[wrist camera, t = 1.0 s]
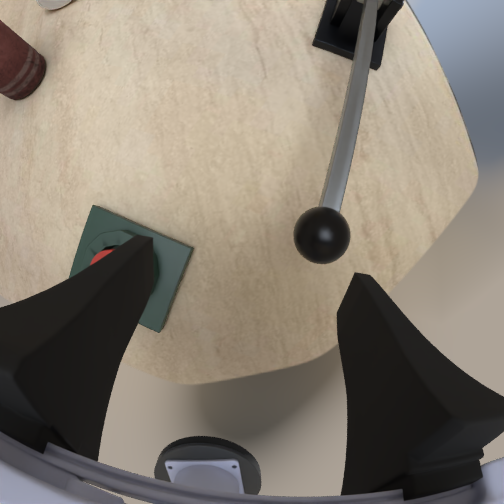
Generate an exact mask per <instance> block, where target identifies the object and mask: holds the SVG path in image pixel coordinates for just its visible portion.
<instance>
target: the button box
mask: <svg viewBox="0 0 504 504" xmlns="http://www.w3.org/2000/svg"><path fill="white" fill-rule="evenodd" d="M136 235H142V236H148V237H153V266H154V284H153V287H152V290H151V293H150V296H149V299H148V302H147V305H146V307H145V310H144V312H143V314H142V316H141V318H140V320H139V322H138V323H139V324H141V325H143V326H145V327H147V328H149V329H152V330H154V331H156V332H158V333H160V332H161V330H162V329H163V327H164V324H165V321H166V318H167V316H168V313H169V310H170V308H171V305H172V303H173V300H174V297H175V295H176V292H177V290H178V287H179V284H180V282H181V279H182V277H183V274H184V272H185V269H186V267H187V264H188V262H189V259H190V257H191V254H192V252H193V249H194V248H193V247H191V246H189V245H186V244H184V243H182V242H179V241H177V240H175V239H172V238H170V237H168V236H165V235H163V234H161V233H158V232H156V231H154V230H152V229H149V228H147V227H145V226H142V225H140V224H138V223H136V222H133V221H131V220H129V219H127V218H124V217H122V216H120V215H118V214H115V213H113V212H111V211H109V210H106V209H104V208H102V207H100V206H96V205H93V206H92V208H91V211H90V214H89V216H88V219H87V222H86V225H85V228H84V231H83V233H82V236H81V240H80V243H79V246H78V249H77V252H76V255H75V258H74V262H73V265H72V269H71V272H70V276H69V278H71V277H72V276H74V275H76V274H77V273H79V272H81V271H82V270H84V269H85V268H87V267H89V266H90V264H91V261H92V259H93V258H94V257H95V255H96V254H98V253H99V252H101V251H104V250H110V249H116V248H117V247H119V246H120V245H122V244H123V243H125V242H126V241H128V240H129V239H131V238H132V237H134V236H136Z"/></svg>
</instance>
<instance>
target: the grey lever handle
mask: <svg viewBox="0 0 504 504" xmlns="http://www.w3.org/2000/svg"><path fill="white" fill-rule="evenodd" d="M356 1H357V2H360V3H362V4H363V10H362V15H361V21H360V26H359V32H358V37H357V42H356V47H355V53H354V58H353V63H352V67H351V72H350V77H349V82H348V86H347V91H346V96H345V100H344V105H343V109H342V113H341V118H340V122H339V126H338V131H337V135H336V139H335V143H334V147H333V151H332V156H331V160H330V164H329V168H328V172H327V175H326V179H325V183H324V187H323V191H322V195H321V198H320V202H319V206H318V207H314V208H311V209H309V210H307V211H306V212H304V213H303V214H302V215H301V216H300V218H299V219H298V220H297V222H296V225H295V227H294V243H295V246H296V248H297V250H298V251H299V253H300V254H301V255H302V256H303V257H304V258H305V259H307V260H308V261H310V262H313V263H317V264H327V263H331V262H334V261H336V260H337V259H339V258H340V257H341V256H342V255H343V254H344V253H345V251H346V250H347V248H348V246H349V242H350V228H349V225H348V223H347V221H346V219H345V218H344V217H343V216H342V215H341V214H340V209H341V205H342V201H343V197H344V193H345V189H346V184H347V180H348V176H349V171H350V167H351V162H352V158H353V153H354V149H355V144H356V139H357V134H358V129H359V124H360V119H361V114H362V108H363V103H364V97H365V92H366V86H367V80H368V74H369V68H370V61H371V55H372V48H373V41H374V33H375V26H376V18H377V10H379V8H380V6H381V5H382V3H383V1H384V0H356Z"/></svg>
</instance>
